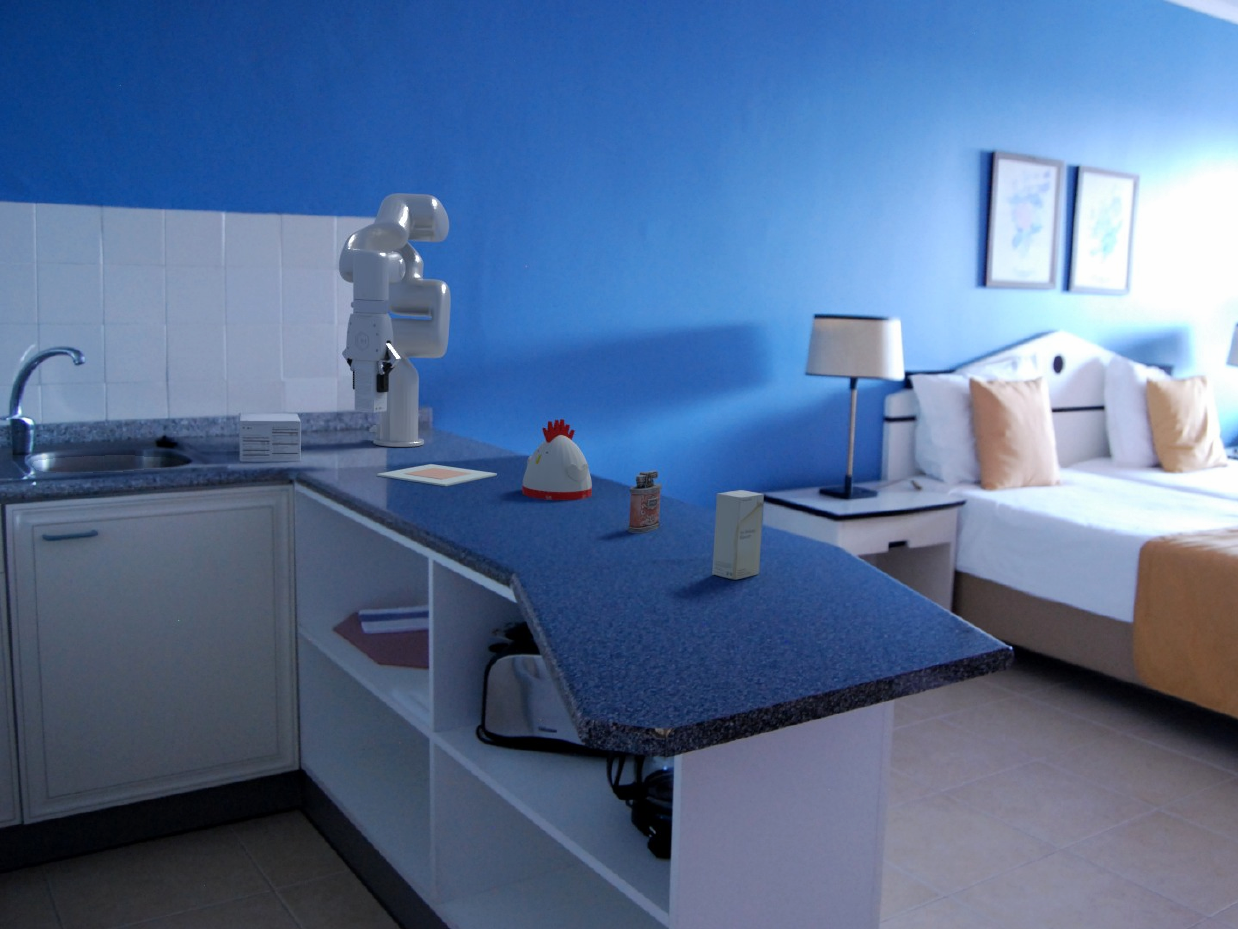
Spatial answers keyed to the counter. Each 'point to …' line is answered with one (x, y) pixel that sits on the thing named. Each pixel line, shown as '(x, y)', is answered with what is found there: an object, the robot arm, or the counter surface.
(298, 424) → the supplement box
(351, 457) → the counter surface
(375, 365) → the skincare box
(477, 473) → the square coaster
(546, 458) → the kitchen timer
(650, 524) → the lighter
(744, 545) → the skincare box
